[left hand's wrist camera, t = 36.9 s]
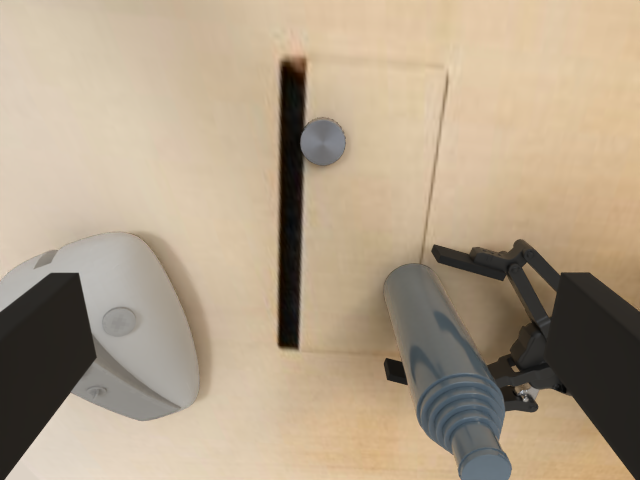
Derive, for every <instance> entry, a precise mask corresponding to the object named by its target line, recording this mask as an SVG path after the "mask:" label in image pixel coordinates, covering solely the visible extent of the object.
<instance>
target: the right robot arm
mask: <svg viewBox="0 0 640 480" xmlns="http://www.w3.org/2000/svg"><path fill="white" fill-rule="evenodd" d="M513 247H514V248H513V249H512V250H511V251H510V252H508V253H507V252H505V251H501V252H499V253H497V252H493V251H490V250H487V249H483V248H480V247H473V248H472V250H471V252H470V254H466V253H462V252H459V251H455V250H452V249H448V248H445V247H442V246H438V245H435V244H434V246H433V248H432V250H431V252H432V253H433V255H434V257H435V259H436V260H437V262H438V263H441V264H445V265H448V266H452V267H455V268H459V269H462V270H466V271H469V272H473V273H476V274H480V275H483V276H487V277H491V278H494V279H498V280H501V281H503V280H504V278H505V276H506V275H507V277H508V279H509V280H510V282H511V284H512V286H513V288H514V290H515V291H516V293H517V295H518V297H519V299H520V300H521V302H522V304H523V306H524V308H525V311H526V312H527V314H528V316H529V318H530V320H531V321H532V323H530V324H528V325H527V326H526V327H525V326H523V327H522V329H521V330H520V333H519V337H518V340H517V341H516V342H515V343H514V344H513V345H512V347H511V349H510V351H511V354H509V355H506V356H503V357H500V358H499V360H498V361H497V362H495V363H492V364H489V365H487V367H488V368H489V370H490V372H491V374H492V376H493V378H494V379H495V381H496V383H497V385H498V387H499V388H500V390H501V392H502V395H503V398H504V406H505V411H511V410H519V411H525V412H535V411H536V410H537V409H538V405H537V403H536V402H535V399H536V396H537V394H538V392H539V390H540V389H548V388H550V389H554V390H556V391H559V392H561V393H563V394H566V395H569V396H572V395H571V394H570V392H569V391H568V390H567V388H566V387H565V386H564V384H563V383H562V382H561V381H560V379H559V378H558V377H557V375H556V374H555V373H554V371H553V370H552V369H551V367H550V366H549V365H548V363H547V362H546V361H545V359H544V358H543V356H544V351H545V346H546V341H547V337H548V332H549V327H550V323H551V318H552V317H548V316H547V314H546V312H545V310H544V308H543V306H542V305H541V303H540V301H539V299H538V297H537V295H536V293H535V292H534V290H533V288H532V286H531V284H530V282H529V280H528V278H527V277H526V275H525V273H524V271H523V269H522V267H523V266H524V265H525V264H526V263H527V262H528V264H529V265H530V266H531V267H532V268H533V269H534V270H535V271H536V272H537V273H538V274H539V275H540V276H541V277H542V278H543V279H544V280H545V281H546V282H547V283H548V284H549V285H550V286H551V287H552V288H553V289H554V290H555V291H556V292H557V290H558V285H559V280H560V275H559V274H558V273H557V272H556V271H555V270H554V269H553V268H552V267H551V266H550V265H549V264H548V263H547V262H546V261H545V260H544V258H543V257H542V256H541V255H540V254H539V253H538V252H537V251H536V250H535V249H533V248H532V247H531V246H530V245H529V244H528V243H527V242H525V241H524V240H521V239H520V240H517V241H516V242H515V243H514V245H513ZM515 365H516V366H517V368H518V369H519V371H520V372H514V371H513V370H512V368H511V367H512V366H515ZM384 367H385V372H386V376H387V380H390V381H393V382H397V383H401V384H405V385H408V383H407V379H406V375H405V371H404V368H403V364H402V362H400V361H396V360H392V359H388V358H386V360H385V362H384ZM525 383H526V384H525ZM522 384H524V385H522ZM508 385H511V386H508Z"/></svg>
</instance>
